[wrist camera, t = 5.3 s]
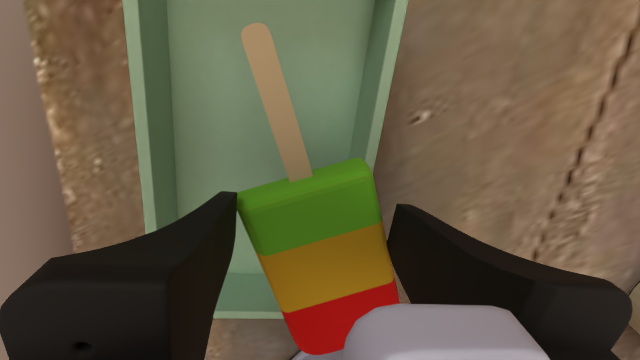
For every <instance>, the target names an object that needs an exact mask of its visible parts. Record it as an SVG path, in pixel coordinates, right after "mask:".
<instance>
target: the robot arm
mask: <svg viewBox="0 0 640 360" xmlns="http://www.w3.org/2000/svg"><path fill="white" fill-rule="evenodd" d="M236 205H237V192H229V191H221V192H219V193H218V194H216V195H215V196H214V197H212V198H211V199H209V200H208V201H207V202H205V203H204V204H202V205H201V206H200V207H198V208H197V209H195V210H193V211H192V212H190V213H189V214H187V215H185V216H184V217H182V218H180V219H179V220H177V221H175V222H173V223H171V224H169V225H167V226H165V227H163V228H160V229H158V230H156V231H154V232H151V233H148V234H146V235H143V236H140V237H137V238H135V239H132V240H129V241H126V242H122V243H119V244H116V245H112V246H108V247H104V248H100V249H96V250H92V251H87V252H82V253H76V254H71V255H66V256H61V257H54V258H51V259H50V260H48V261H47V262H46V263H45V264H44V265H43V266H42V267H41V268H40V269H38V270H37V272H35V273H34V274H33V275H32V276H31V277H30V278H29V279H28V280H26V282H25V283H23V284H22V285H21V286H20V287H19V288H18V289H17V290H16V291H14V293H12V294H11V295H10V296H9V297H8V299H7V300H6V301H5V302H4V303H3V305H2V306H1V309H0V334H1V337H2V340H3V342H4V345H5V348H6V351H7V354H8V356H9V360H204V358H205V353H206V348H207V343H208V339H209V334H210V329H211V324H212V320H213V315H214V312H215V308H216V304H217V301H218V298H219V295H220V292H221V289H222V286H223V283H224V280H225V277H226V274H227V271H228V268H229V265H230V262H231V259H232V254H233V249H234V243H235V238H236V216H237V209H236ZM387 248H388V252H389V255H390V258H391V261H392V264H393V267H394V269H395V271H396V273H397V275H398V277H399V279H400V281H401V284H402V286H403V288H404V290H405V292H406V294H407V296H408V298H409V300H410V302H411V304H393V305H387V306H382V307H376V308H374V309H373V310H371V311H370V312H368V313H367V314H365V315H363V316H362V317H360V318H359V319H357V320H356V322H355V323H354V325H353V327H352V328H351V330H350V332H349V333H348V335H347V337H346V340H345V345H344V349H342V350H338V351H335V352H332V353H327V354H323V355H310V354H306V353H304V352H303V351H300V352H299V353H298V354H297V355H296V356H295V357H294V358H293V359H291V360H620V359H619V358H618V357H617V356H616V355H615V354H614V353H613V352H612V351H610V350H611V349H612V347H613V346H614V344H615V343H616V341H617V340H618V339H619V337H620V336H621V334H622V333H623V331H624V330H625V328H626V327H627V325H628V323H629V321H630V319H631V316H632V311H633V307H632V301H631V299H630V297H629V296H628V295H627V293H625V292H624V291H622V290H621V289H620V288H618V287H617V286H615V285H614V284H613V283H611V282H610V281H607V280H605V279H601V278H596V277H592V276H587V275H583V274H578V273H574V272H569V271H565V270H561V269H557V268H554V267H550V266H547V265H543V264H540V263H536V262H533V261H530V260H527V259H524V258H521V257H518V256H516V255H513V254H510V253H507V252H505V251H502V250H499V249H497V248H495V247H492V246H490V245H488V244H485V243H483V242H481V241H479V240H477V239H475V238H473V237H471V236H469V235H467V234H465V233H463V232H461V231H459V230H457V229H455V228H453V227H452V226H450V225H448V224H446V223H444V222H443V221H441V220H439V219H437V218H436V217H434V216H432V215H430V214H429V213H427V212H425V211H423V210H421V209H419V208H417V207H415V206H412V205H407V204H397V205H396V209H395V213H394V217H393V221H392V225H391V229H390V233H389V236H388V240H387Z"/></svg>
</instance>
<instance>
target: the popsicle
mask: <svg viewBox="0 0 640 360" xmlns="http://www.w3.org/2000/svg"><path fill="white" fill-rule="evenodd" d="M241 39H242V43H243V46H244V49H245V52H246V55H247V58H248V61H249V64H250V67H251V70H252V73H253V76H254V78H255V81H256V84H257V87H258V90H259V93H260V96H261V99H262V102H263V105H264V108H265V111H266V114H267V117H268V120H269V123H270V126H271V129H272V132H273V135H274V138H275V140H276V143H277V146H278V149H279V152H280V155H281V158H282V161H283V164H284V167H285V170H286V173H287V176H288V178H285V179H281V180H278V181H275V182H271V183H268V184H264V185H261V186H257V187H254V188H251V189H247V190H244V191H240V192H238V193H237V205H236V209H237V211H238V214H239V216H240V218H241V220H242V223H243V225H244V227H245V230H246V232H247V234H248V237H249V239H250V241H251V243H252V246H253V248H254V250H255V253H256V255H257V257H258V259H259V262H260V264H261V266H262V269H263V271H264V273H265V275H266V278H267V280H268V282H269V285H270V287H271V289H272V292H273V294H274V296H275V298H276V301H277V303H278V305H279V308H280V310H281V312H282V314H283V317H284V319H285V321H286V324H287V326H288V328H289V330H290V333H291V335H292V337H293V339H294V341H295V343H296V344H297V346H298V347H299V349H300V350H302V351H303V352H304V353H306V354H310V355H323V354H327V353H332V352H335V351H338V350H342V349H344V345H345V340H346V337H347V335H348V333H349V332H350V330H351V328H352V327H353V325H354V323H355V322H356V320H357V319H359V318H360V317H362V316H363V315H365V314H367V313H368V312H370V311H371V310H373V309H374V308H376V307H382V306H387V305H393V304H400V302H399V297H398V292H397V287H396V283H395V278H394V273H393V268H392V264H391V259H390V255H389V252H388V248H387V240H386V235H385V231H384V226H383V221H382V216H381V212H380V207H379V202H378V197H377V193H376V188H375V183H374V178H373V174H372V172H371V169H370V167H369V166H368V164H367V163H366V162H365V161H364V160H363V159H362V158H353V159H350V160H346V161H343V162H339V163H336V164H333V165H329V166H326V167H322V168H319V169H315V170H311V166H310V163H309V160H308V156H307V153H306V150H305V146H304V143H303V140H302V136H301V133H300V130H299V126H298V123H297V120H296V116H295V113H294V110H293V106H292V103H291V100H290V96H289V93H288V90H287V86H286V83H285V80H284V77H283V73H282V70H281V67H280V63H279V60H278V57H277V53H276V50H275V47H274V43H273V40H272V37H271V33H270V31H269V29H268V28H267V26H266V25H264V24H262V23H254V24H251V25H248V26H246V27H245V28H244V29H243V30H242V32H241Z"/></svg>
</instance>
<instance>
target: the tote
mask: <svg viewBox="0 0 640 360" xmlns="http://www.w3.org/2000/svg"><path fill="white" fill-rule="evenodd" d="M122 2H123V12H124V22H125V32H126V42H127V52H128V62H129V72H130V82H131V92H132V102H133V112H134V122H135V132H136V142H137V152H138V162H139V172H140V182H141V192H142V202H143V212H144V222H145V232H146V234H148V233H151V232H154V231H156V230H158V229H160V228H163V227H165V226H167V225H169V224H171V223H173V222H175V221H177V220H179V219H180V218H182V217H184V216H185V215H187V214H189V213H190V212H192V211H193V210H195V209H197V208H198V207H200V206H201V205H202V204H204V203H205V202H207V201H208V200H209V199H211V198H212V197H214V196H215V195H216V194H218V193H219V192H221V191H229V192H237V193H238V192H240V191H244V190H247V189H251V188H254V187H257V186H261V185H264V184H268V183H271V182H275V181H278V180H281V179H285V178H288V176H287V173H286V170H285V167H284V164H283V161H282V158H281V155H280V152H279V149H278V146H277V143H276V140H275V138H274V135H273V132H272V129H271V126H270V123H269V120H268V117H267V114H266V111H265V108H264V105H263V102H262V99H261V96H260V93H259V90H258V87H257V84H256V81H255V78H254V76H253V73H252V70H251V67H250V64H249V61H248V58H247V55H246V52H245V49H244V46H243V43H242V39H241V32H242V30H243V29H244V28H245V27H246V26H248V25H251V24H254V23H262V24H264V25H266V26H267V28H268V29H269V31H270V33H271V37H272V40H273V43H274V47H275V50H276V53H277V57H278V60H279V63H280V67H281V70H282V73H283V77H284V80H285V83H286V86H287V90H288V93H289V96H290V100H291V103H292V106H293V110H294V113H295V116H296V120H297V123H298V126H299V130H300V133H301V136H302V140H303V143H304V146H305V150H306V153H307V156H308V160H309V163H310V166H311V170H315V169H319V168H322V167H326V166H329V165H333V164H336V163H339V162H343V161H346V160H350V159H353V158H362V159H363V160H364V161H365V162H366V163H367V164H368V166H369V167H370V169H371V172H372V174H373V170H374V165H375V160H376V155H377V150H378V145H379V141H380V136H381V131H382V126H383V121H384V116H385V111H386V107H387V102H388V97H389V92H390V87H391V82H392V78H393V73H394V68H395V63H396V58H397V53H398V49H399V44H400V39H401V34H402V29H403V24H404V20H405V15H406V10H407V5H408V0H122ZM213 318H243V319H284V317H283V314H282V312H281V310H280V308H279V305H278V303H277V301H276V298H275V296H274V294H273V292H272V289H271V287H270V285H269V282H268V280H267V278H266V275H265V273H264V271H263V269H262V266H261V264H260V262H259V259H258V257H257V255H256V253H255V250H254V248H253V246H252V243H251V241H250V239H249V237H248V234H247V232H246V230H245V227H244V225H243V223H242V220H241V218H240V216H239V214H238V211H237V216H236V238H235V243H234V249H233V254H232V259H231V262H230V265H229V268H228V271H227V274H226V277H225V280H224V283H223V286H222V289H221V292H220V295H219V298H218V301H217V304H216V308H215V312H214V315H213Z"/></svg>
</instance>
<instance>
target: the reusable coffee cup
mask: <svg viewBox="0 0 640 360" xmlns="http://www.w3.org/2000/svg"><path fill="white" fill-rule="evenodd" d="M629 297H630V299H631V301H632V307H633V311H632V316H631V319H630V321H629V323H628V324H629V325H630V326H631V327H632V328H633V329H634V330H635V331H636V332H637V333H638V334H639V335H640V282H639V283H638V285H637V286H636V287H635V288H634V289H633V290H632V292H631V294H630V295H629Z"/></svg>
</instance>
